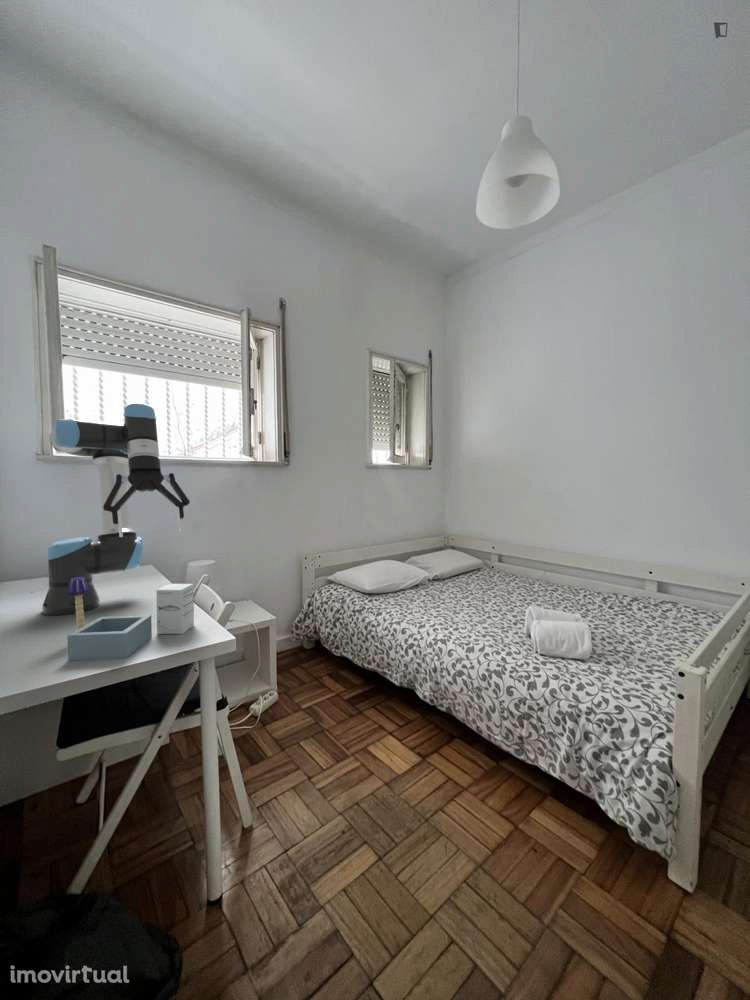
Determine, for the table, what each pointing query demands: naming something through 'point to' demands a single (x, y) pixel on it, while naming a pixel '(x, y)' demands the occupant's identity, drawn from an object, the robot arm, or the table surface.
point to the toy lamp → (78, 597)
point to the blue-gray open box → (109, 637)
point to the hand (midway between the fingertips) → (151, 533)
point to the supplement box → (175, 608)
